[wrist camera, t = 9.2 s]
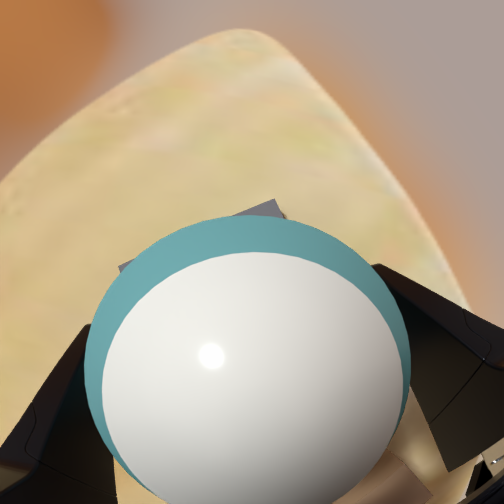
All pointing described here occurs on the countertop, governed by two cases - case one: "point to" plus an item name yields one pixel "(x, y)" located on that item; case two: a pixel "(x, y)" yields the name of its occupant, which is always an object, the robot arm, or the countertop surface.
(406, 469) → the walnut block
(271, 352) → the spice jar
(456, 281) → the countertop surface
